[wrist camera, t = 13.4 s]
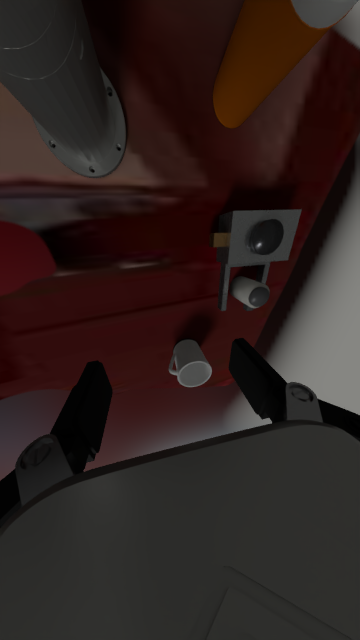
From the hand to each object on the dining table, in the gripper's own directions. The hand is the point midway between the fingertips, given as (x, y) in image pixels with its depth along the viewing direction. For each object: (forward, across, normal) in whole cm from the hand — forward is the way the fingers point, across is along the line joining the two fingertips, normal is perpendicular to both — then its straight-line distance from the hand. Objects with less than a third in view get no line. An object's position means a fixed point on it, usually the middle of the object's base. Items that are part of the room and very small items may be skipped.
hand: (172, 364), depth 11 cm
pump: (+28, -22, +4) cm, 36 cm away
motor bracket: (+28, -21, -1) cm, 35 cm away
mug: (+28, -6, +22) cm, 36 cm away
